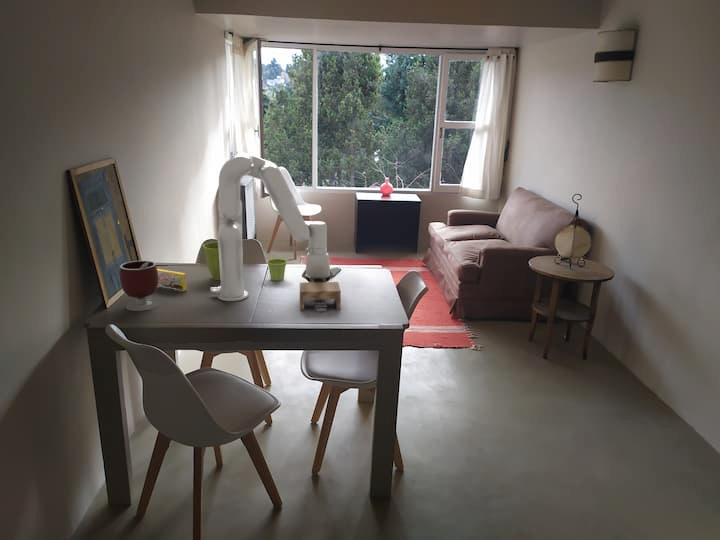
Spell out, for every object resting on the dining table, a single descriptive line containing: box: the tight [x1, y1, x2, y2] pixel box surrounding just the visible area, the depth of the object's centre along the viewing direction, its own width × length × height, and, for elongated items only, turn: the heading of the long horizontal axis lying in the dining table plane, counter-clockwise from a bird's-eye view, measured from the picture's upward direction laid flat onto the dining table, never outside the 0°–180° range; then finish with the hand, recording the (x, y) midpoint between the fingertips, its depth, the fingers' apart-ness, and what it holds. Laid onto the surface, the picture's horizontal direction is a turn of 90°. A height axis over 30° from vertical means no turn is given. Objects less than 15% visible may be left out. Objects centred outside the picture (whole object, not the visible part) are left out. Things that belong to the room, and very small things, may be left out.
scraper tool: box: [313, 277, 326, 307], centre depth 226 cm, size 4×21×7 cm, turn 8°
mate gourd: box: [119, 260, 158, 307], centre depth 212 cm, size 16×14×20 cm
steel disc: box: [313, 304, 328, 314], centre depth 214 cm, size 5×5×2 cm
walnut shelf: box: [299, 281, 342, 312], centre depth 219 cm, size 16×12×8 cm
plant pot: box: [266, 258, 288, 282], centre depth 252 cm, size 9×9×9 cm
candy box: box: [157, 268, 187, 290], centre depth 235 cm, size 16×2×8 cm, turn 68°
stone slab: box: [322, 267, 342, 282], centre depth 262 cm, size 22×3×10 cm
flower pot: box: [202, 241, 221, 281], centre depth 251 cm, size 15×15×16 cm
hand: (317, 290), depth 235 cm, fingers closed on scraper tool, 4 cm apart
